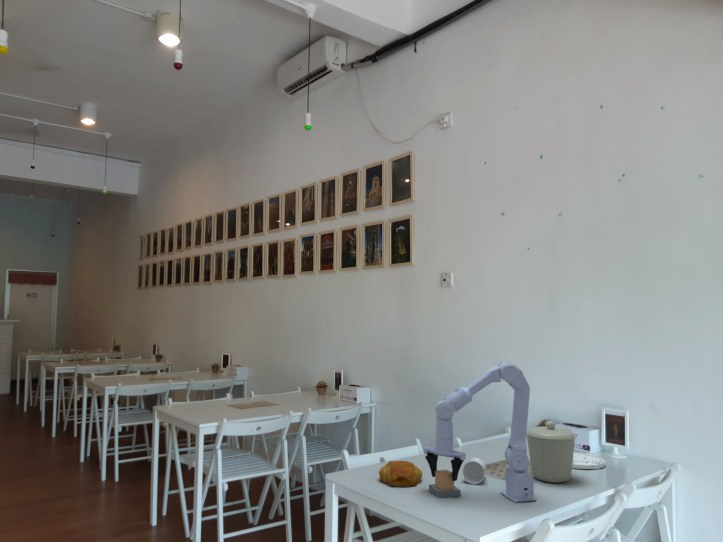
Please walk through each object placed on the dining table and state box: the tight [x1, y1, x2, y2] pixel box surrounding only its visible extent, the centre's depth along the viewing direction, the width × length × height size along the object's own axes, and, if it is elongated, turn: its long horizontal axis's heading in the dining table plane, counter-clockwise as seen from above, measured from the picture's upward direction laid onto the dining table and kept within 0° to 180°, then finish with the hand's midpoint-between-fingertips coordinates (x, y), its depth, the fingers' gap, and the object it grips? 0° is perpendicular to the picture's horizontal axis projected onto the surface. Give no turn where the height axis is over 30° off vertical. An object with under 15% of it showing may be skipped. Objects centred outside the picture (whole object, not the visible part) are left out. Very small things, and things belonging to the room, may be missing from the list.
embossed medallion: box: [572, 451, 606, 471], centre depth 222 cm, size 20×20×3 cm
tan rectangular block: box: [434, 469, 455, 490], centre depth 182 cm, size 4×4×5 cm
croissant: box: [378, 460, 423, 487], centre depth 195 cm, size 14×16×8 cm
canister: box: [526, 420, 577, 484], centre depth 201 cm, size 18×18×21 cm
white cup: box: [461, 457, 487, 485], centre depth 198 cm, size 8×8×10 cm
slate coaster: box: [428, 483, 462, 499], centre depth 182 cm, size 8×8×2 cm
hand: (444, 478), depth 182 cm, fingers open, 7 cm apart
